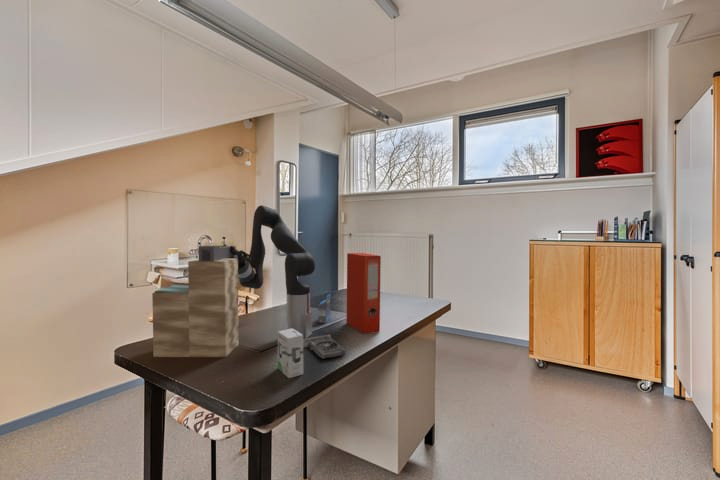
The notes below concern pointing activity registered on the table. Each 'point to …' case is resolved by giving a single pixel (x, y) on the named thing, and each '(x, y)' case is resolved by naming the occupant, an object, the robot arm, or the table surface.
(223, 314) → the stand
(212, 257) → the plug bar
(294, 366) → the ink box
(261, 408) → the table surface
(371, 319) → the file binder
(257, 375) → the table surface
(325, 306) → the label tape cartridge
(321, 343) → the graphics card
